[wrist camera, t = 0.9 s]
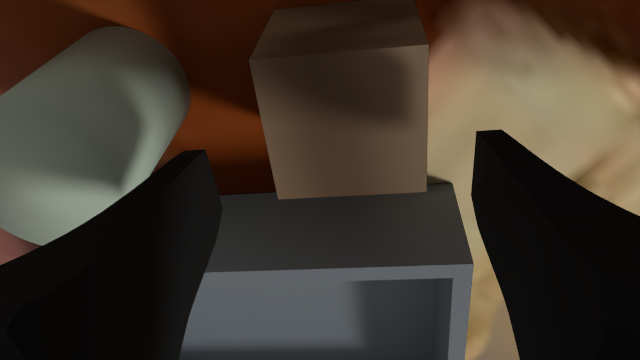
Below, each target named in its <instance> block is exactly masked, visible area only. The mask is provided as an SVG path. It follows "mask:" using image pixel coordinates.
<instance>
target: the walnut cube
mask: <svg viewBox="0 0 640 360" xmlns="http://www.w3.org/2000/svg"><path fill="white" fill-rule="evenodd" d="M428 63H429V44H428V40H427V37H426V34H425V31H424V28H423V25H422V22H421V19H420V16H419V13H418V10H417V7H416V4H415V1H414V0H363V1H353V2H343V3H333V4H323V5H313V6H303V7H293V8H283V9H274V11H273V13H272V15H271V17H270V19H269V21H268V23H267V25H266V27H265V29H264V31H263V33H262V35H261V37H260V39H259V41H258V43H257V45H256V47H255V49H254V51H253V53H252V55H251V57H250V59H249V64H250V69H251V73H252V78H253V83H254V88H255V92H256V97H257V102H258V107H259V111H260V116H261V121H262V126H263V130H264V135H265V140H266V145H267V149H268V154H269V159H270V163H271V168H272V173H273V178H274V182H275V187H276V192H277V197H278V199H296V198H317V197H337V196H357V195H377V194H397V193H417V192H427V129H428Z"/></svg>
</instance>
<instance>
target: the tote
mask: <svg viewBox="0 0 640 360" xmlns="http://www.w3.org/2000/svg"><path fill="white" fill-rule="evenodd" d="M219 197H220V200H221V204H222V207H223V210H222V215H221V221H220V226H219V231H218V235H217V239H216V242H215V245H214V248H213V251H212V254H211V257H210V259H209V262H208V265H207V268H206V270H205V273H204V276H203V279H202V281H201V284H200V287H199V289H198V292H197V295H196V298H195V300H194V303H193V306H192V309H191V312H190V316H189V319H188V323H187V327H186V331H185V335H184V339H183V343H182V348H181V352H180V357H179V360H464V359H465V348H466V338H467V328H468V317H469V307H470V297H471V286H472V276H473V266H474V264H473V260H472V256H471V252H470V248H469V245H468V241H467V237H466V233H465V229H464V226H463V222H462V218H461V214H460V211H459V207H458V203H457V199H456V195H455V192H454V188H453V184H452V183H445V184H427V192H417V193H397V194H377V195H357V196H337V197H317V198H296V199H278V197H277V192H274V193H255V194H235V195H219Z"/></svg>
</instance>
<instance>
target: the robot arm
mask: <svg viewBox="0 0 640 360" xmlns="http://www.w3.org/2000/svg"><path fill="white" fill-rule="evenodd" d="M471 197H472V201H473V206H474V211H475V216H476V220H477V225H478V228H479V231H480V234H481V237H482V240H483V242H484V245H485V248H486V251H487V253H488V256H489V259H490V261H491V264H492V267H493V270H494V272H495V275H496V278H497V280H498V283H499V286H500V288H501V291H502V294H503V297H504V300H505V303H506V306H507V309H508V312H509V316H510V320H511V325H512V329H513V333H514V336H515V341H516V345H517V349H518V354H519V357H520V360H640V216H638V215H636V214H633V213H631V212H629V211H627V210H625V209H623V208H621V207H619V206H617V205H615V204H613V203H611V202H609V201H607V200H605V199H603V198H601V197H599V196H597V195H596V194H594V193H592V192H590V191H589V190H587V189H585V188H584V187H582V186H580V185H579V184H577V183H576V182H574V181H572V180H571V179H569V178H568V177H566V176H564V175H563V174H561V173H560V172H558V171H557V170H555V169H554V168H553V167H551V166H550V165H548V164H547V163H545V162H544V161H543V160H541V159H540V158H539V157H537V156H536V155H535V154H533V153H532V152H531V151H529V150H528V149H527V148H525V147H524V146H523V145H521V144H520V143H519V142H517V141H516V140H515V139H514V138H512V137H511V136H510V135H508V134H507V133H506V132H504V131H503V130H488V131H476V143H475V155H474V167H473V179H472V192H471ZM222 210H223V207H222V204H221V200H220V197H219V194H218V190H217V187H216V184H215V180H214V177H213V174H212V170H211V167H210V164H209V160H208V157H207V154H206V150H192V151H183V152H182V153H180V154H179V155H177V156H176V157H174V158H173V159H172V160H170V161H169V162H168V163H166V164H165V165H164V166H162V167H161V168H160V169H159V170H157V171H156V172H155V173H153V174H152V175H151V176H150V177H148V178H147V179H146V180H144V181H143V182H142V183H141V184H139V185H138V186H137V187H135V188H134V189H133V190H131V191H130V192H129V193H127V194H126V195H125V196H123V197H122V198H120V199H119V200H118V201H116V202H115V203H113V204H112V205H111V206H109V207H108V208H106V209H105V210H104V211H102V212H101V213H99V214H97V215H96V216H94V217H93V218H91V219H90V220H88V221H86V222H85V223H83V224H81V225H80V226H78V227H76V228H75V229H73V230H71V231H70V232H68V233H66V234H64V235H62V236H60V237H59V238H57V239H55V240H53V241H51V242H49V243H47V244H45V245H43V246H41V247H39V248H37V249H35V250H33V251H31V252H29V253H27V254H25V255H23V256H20V257H18V258H16V259H14V260H11V261H9V262H7V263H5V264H2V265H0V360H179V357H180V352H181V348H182V343H183V339H184V335H185V331H186V327H187V323H188V319H189V316H190V312H191V309H192V306H193V303H194V300H195V298H196V295H197V292H198V289H199V287H200V284H201V281H202V279H203V276H204V273H205V270H206V268H207V265H208V262H209V259H210V257H211V254H212V251H213V248H214V245H215V242H216V239H217V235H218V231H219V226H220V221H221V215H222Z"/></svg>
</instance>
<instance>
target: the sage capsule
mask: <svg viewBox="0 0 640 360" xmlns="http://www.w3.org/2000/svg"><path fill="white" fill-rule="evenodd" d="M190 103H191V92H190V86H189V81H188V79H187V76H186V73H185V72H184V70H183V68H182V66H181V64H180V63H179V61H178V60H177V59H176V57H175V56H174V55H173V54H172V53H171V52H170V51H169V50H168V49H167V48H166V47H165V46H164V45H163V44H161V43H160V42H159V41H158V40H156V39H154V38H153V37H151V36H149V35H147V34H145V33H143V32H141V31H138V30H135V29H132V28H128V27H121V26H107V27H101V28H98V29H95V30H92V31H91V32H89V33H87V34H86V35H84V36H83V37H81V38H80V39H79V40H77V41H76V42H74V43H73V44H72V45H70V46H69V47H68V48H66V49H65V50H63V51H62V52H61V53H59V54H58V55H56V56H55V57H54V58H52V59H51V60H50V61H48V62H47V63H45V64H44V65H43V66H41V67H40V68H38V69H37V70H36V71H34V72H33V73H32V74H30V75H29V76H27V77H26V78H25V79H23V80H22V81H20V82H19V83H18V84H16V85H15V86H14V87H12V88H11V89H9V90H8V91H7V92H5V93H4V94H2V95H1V96H0V228H2V229H3V230H5V231H7V232H9V233H11V234H12V235H15V236H17V237H19V238H21V239H24V240H26V241H29V242H32V243H35V244H38V245H42V246H43V245H45V244H47V243H49V242H51V241H53V240H55V239H57V238H59V237H60V236H62V235H64V234H66V233H68V232H70V231H71V230H73V229H75V228H76V227H78V226H80V225H81V224H83V223H85V222H86V221H88V220H90V219H91V218H93V217H94V216H96V215H97V214H99V213H101V212H102V211H104V210H105V209H106V208H108V207H109V206H111V205H112V204H113V203H115V202H116V201H118V200H119V199H120V198H122V197H123V196H125V195H126V194H127V193H129V192H130V191H131V190H133V189H134V188H135V187H137V186H138V185H139V184H141V183H142V182H143V181H144V180H146V179H147V178H148V177H149V176H150V174H151V173H152V171H153V170H154V168H155V166H156V165H157V163H158V162H159V160H160V158H161V157H162V155H163V154H164V152H165V150H166V149H167V147H168V145H169V144H170V142H171V141H172V139H173V137H174V136H175V134H176V133H177V131H178V129H179V128H180V126H181V124H182V123H183V121H184V120H185V118H186V116H187V114H188V111H189V108H190Z"/></svg>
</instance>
